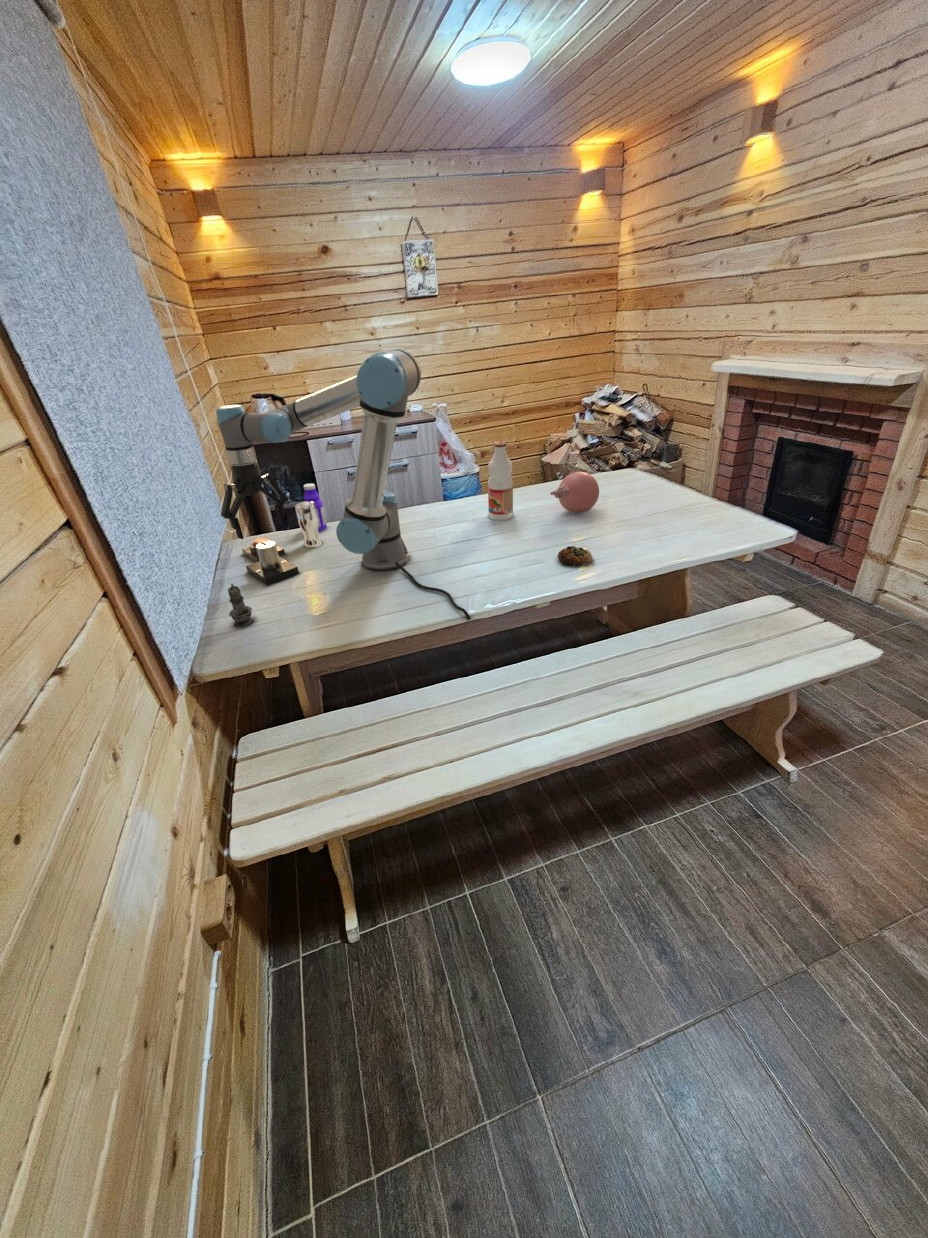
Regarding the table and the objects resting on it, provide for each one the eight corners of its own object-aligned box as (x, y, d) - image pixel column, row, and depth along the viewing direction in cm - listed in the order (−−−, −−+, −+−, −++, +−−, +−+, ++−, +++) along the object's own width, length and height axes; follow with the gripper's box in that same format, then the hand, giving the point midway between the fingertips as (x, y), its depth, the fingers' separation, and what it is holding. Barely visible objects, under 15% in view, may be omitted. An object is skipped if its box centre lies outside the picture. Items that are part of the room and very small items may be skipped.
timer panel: (299, 573, 167) (297, 566, 166) (267, 585, 161) (265, 578, 160) (278, 561, 176) (277, 554, 175) (247, 572, 170) (245, 565, 168)
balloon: (539, 510, 205) (540, 472, 197) (584, 502, 210) (586, 464, 202) (558, 523, 193) (560, 482, 185) (605, 514, 198) (609, 474, 190)
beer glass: (318, 548, 184) (309, 508, 176) (300, 548, 185) (290, 507, 177) (326, 540, 190) (318, 501, 182) (308, 540, 191) (299, 500, 183)
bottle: (330, 527, 201) (321, 482, 192) (322, 532, 197) (313, 487, 188) (314, 525, 204) (304, 482, 195) (305, 531, 199) (296, 486, 190)
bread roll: (553, 564, 163) (555, 549, 161) (560, 555, 172) (562, 540, 170) (589, 570, 159) (591, 554, 157) (594, 559, 169) (596, 544, 167)
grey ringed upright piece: (236, 617, 145) (223, 579, 139) (257, 616, 145) (246, 577, 139) (230, 629, 140) (216, 590, 134) (252, 627, 140) (239, 588, 134)
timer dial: (284, 565, 167) (278, 543, 163) (266, 572, 164) (260, 549, 160) (275, 560, 171) (269, 538, 167) (258, 566, 167) (252, 544, 163)
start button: (271, 544, 180) (270, 539, 179) (258, 548, 177) (256, 543, 176) (265, 540, 183) (263, 535, 182) (251, 545, 180) (250, 540, 179)
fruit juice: (515, 519, 199) (515, 444, 184) (491, 522, 198) (489, 446, 183) (509, 511, 207) (509, 438, 192) (486, 513, 206) (484, 440, 191)
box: (285, 554, 181) (282, 543, 179) (258, 563, 176) (255, 552, 173) (269, 545, 189) (267, 535, 187) (243, 554, 183) (240, 543, 181)
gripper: (277, 451, 160) (292, 517, 171) (195, 470, 146) (217, 540, 157) (289, 455, 155) (303, 522, 166) (205, 474, 141) (227, 546, 152)
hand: (261, 531), depth 162 cm, fingers open, 13 cm apart
